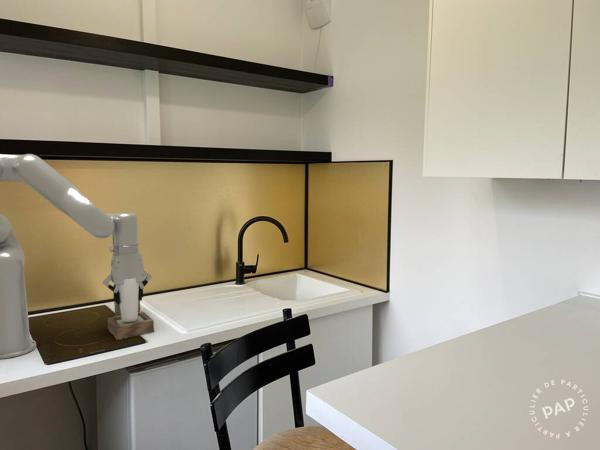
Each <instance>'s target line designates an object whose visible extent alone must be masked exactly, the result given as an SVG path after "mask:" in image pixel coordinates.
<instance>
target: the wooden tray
mask: <svg viewBox="0 0 600 450" xmlns="http://www.w3.org/2000/svg"><path fill="white" fill-rule="evenodd" d="M107 329H108V331H109V332H110V334H113V335H114V336H113V335H112V336H113V338H115V339H116V341H119V340H123V338H124V339H128V337H129V338H132V337H138V336H142V335H148V334H151V333H155V322H154V319H153V318H152V317H150V315H148V314H147V313H146V312H145V311H143V310H140V312H138V319H137V320H136V321H133V322H123V321H122V320H121V315H120V316H116V315H115V316H109V317H107ZM118 339H119V340H118Z"/></svg>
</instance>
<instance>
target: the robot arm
mask: <svg viewBox="0 0 600 450" xmlns="http://www.w3.org/2000/svg"><path fill="white" fill-rule="evenodd" d="M0 182H12V183H13V182H15V183H17V182H18V183H20V182H21V183H22V182H23V183H24V184H25V185H26V186H28V187H29V188H30V189H32V190H33V191H34V192H36V193H37V194H38V195H40V196H41V197H42V198H43V199H44V200H45V201H46V202H48V203H50V205H52V206H53V207H55V208H56V209H57V210H58V211H60V212H61V213H63V214H64V215H66V216H67V217H69V218H70V219H71V220H73V222H75V223H76V224H77V225H78V226H79V227H81V228H83V230H85V231H86V232H88V233H89V235H91V236H93V237H94V238H97V239H100V240H101V239H107V238H109V237H111V236H113V235H114V246H113V245H112V247H109V252H110V253H111V252H113V253H114V254H113V253H112V255H111V256H112V257H111V264H110V265H111V266H110V273H109V275H108V276H106V277H105V278H104V280H103V281H102V284H103V285H104V286H105V287H106V288H108V289H109V290H110V291H112V292H113V295H112V296H113V303H114V302H116V303H117V304H120V294H119V292H118V289H119V285H123V284H124V280H125V279H133V278H136V282H137V283H139V298H138V300H140V302H141V301H143V298H144V288H145V287H146V286H147V284H148V282H150V280H151V279H152V278H153V276H152V275H151V274H149V273H148V272H147V271H146V270H145V265H144V259H143V255H142V252H140V251H139V235H138V233H139V232H138V231H139V230H138V217H137V214H136V213H134V212H117V213H110V212H109V213H106V212H104V211H103V210H101V208H99V207H98V206H97V205H95V204H94V203H93V202H92V201H91V200H89V199H88V198H87V197H86V196H85V195H84V194H83V193H82V192H81V191H80V190H79V189H78V188H77V187H76V186H75V185H74V184H73V183H71V182H70V181H69V180H68V179H66V178H65V176H63V175H61V174H60V173H59V172H58V171H57V170H56V169H54V168H53V167H51V166H50V164H48V163H47V162H46V161H44V160H43V159H42V158H41V157H39V156H37V155H36V154H33V153H26V154H25V153H24V154H6V153H5V154H4V153H3V154H2V153H0ZM112 233H113V234H112ZM25 263H26V256H25V252H24V250H23V248H22V245H21V243H20V241H19V239H18V237H17V234H16V232H15V230H14V228H13V226H12V224H11V222H10V220H9V219H8V217H6V216H5V215H3V214H1V213H0V359H10V358H15V357H19V356H22V355H26V354H29V352H31V351H33V350H36V349H35V348H36V347H37V342H36V341H35V339H34V340H33V339H31V335H30V325H29V313H28V312H29V311H28V299H27V287H26V279H25ZM110 281H111V282H112V283H113V285H111V284H110Z"/></svg>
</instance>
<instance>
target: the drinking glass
mask: <svg viewBox="0 0 600 450" xmlns="http://www.w3.org/2000/svg"><path fill="white" fill-rule="evenodd" d="M118 292H119V294H120V310H121V320H122V321H123V322H133V321H136V320H137V319H138V298H139V283H137V282H136V278H133V279H125V280H124V284H123V285H119V289H118Z"/></svg>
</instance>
